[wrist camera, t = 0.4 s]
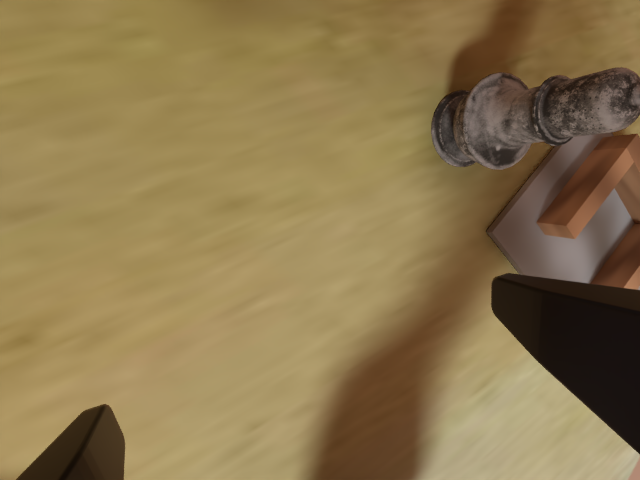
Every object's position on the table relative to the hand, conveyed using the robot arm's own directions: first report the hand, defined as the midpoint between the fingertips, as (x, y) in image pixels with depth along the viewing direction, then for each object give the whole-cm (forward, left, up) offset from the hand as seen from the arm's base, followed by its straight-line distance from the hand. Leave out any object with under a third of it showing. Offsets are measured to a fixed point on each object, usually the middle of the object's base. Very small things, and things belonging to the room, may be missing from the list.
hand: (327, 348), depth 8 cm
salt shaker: (+2, -18, -15) cm, 23 cm away
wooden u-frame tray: (-12, -29, -15) cm, 34 cm away
